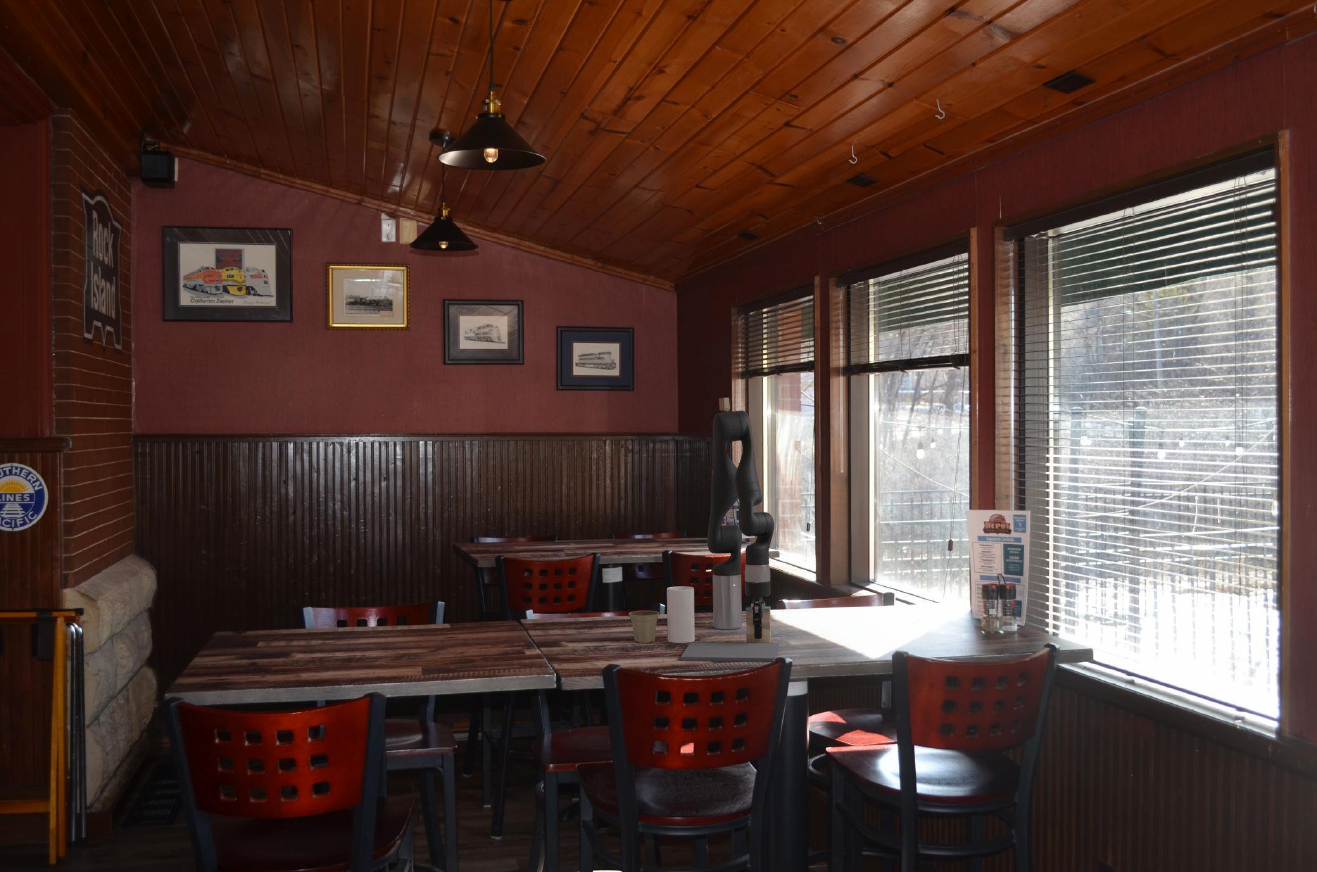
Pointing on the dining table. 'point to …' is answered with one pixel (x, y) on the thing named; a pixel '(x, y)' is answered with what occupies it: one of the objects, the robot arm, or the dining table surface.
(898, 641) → the dining table surface
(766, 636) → the block
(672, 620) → the white cylinder
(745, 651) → the mat
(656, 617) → the flower pot
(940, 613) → the dining table surface
